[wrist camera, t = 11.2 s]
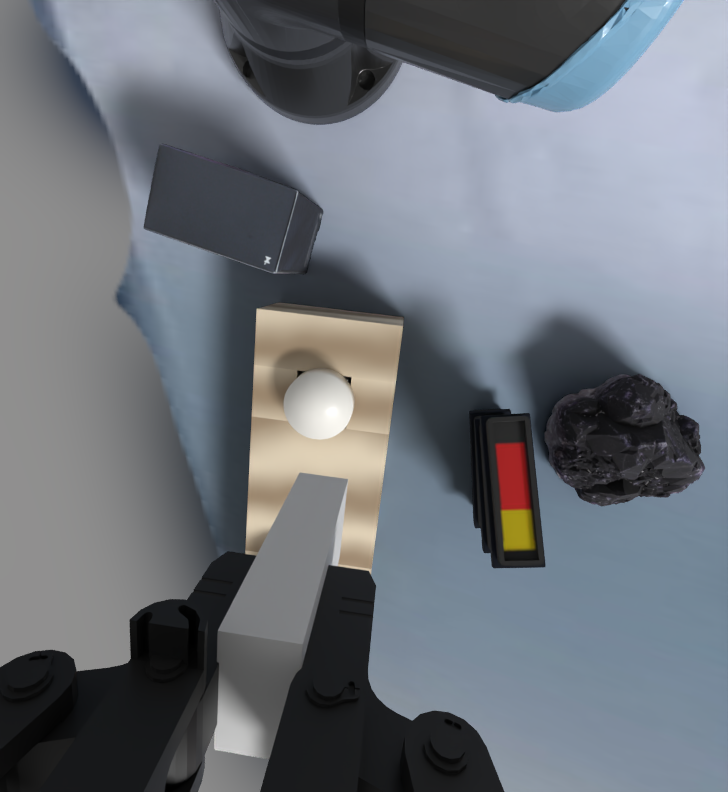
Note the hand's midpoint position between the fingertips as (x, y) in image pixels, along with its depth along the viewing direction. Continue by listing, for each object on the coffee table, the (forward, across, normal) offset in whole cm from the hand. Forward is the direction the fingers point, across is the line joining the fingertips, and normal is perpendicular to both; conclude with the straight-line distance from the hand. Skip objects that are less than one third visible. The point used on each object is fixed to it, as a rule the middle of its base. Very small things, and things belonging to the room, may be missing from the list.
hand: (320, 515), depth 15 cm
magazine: (+33, +12, -9) cm, 36 cm away
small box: (+33, -12, +10) cm, 36 cm away
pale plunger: (+31, -4, -4) cm, 31 cm away
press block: (+32, -4, -13) cm, 35 cm away
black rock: (+33, +23, -6) cm, 41 cm away
